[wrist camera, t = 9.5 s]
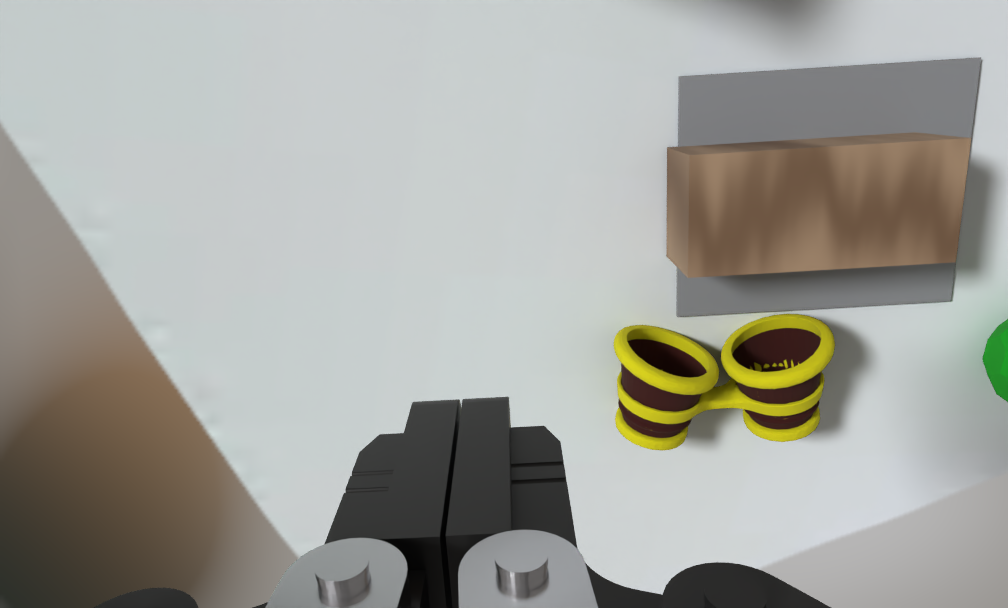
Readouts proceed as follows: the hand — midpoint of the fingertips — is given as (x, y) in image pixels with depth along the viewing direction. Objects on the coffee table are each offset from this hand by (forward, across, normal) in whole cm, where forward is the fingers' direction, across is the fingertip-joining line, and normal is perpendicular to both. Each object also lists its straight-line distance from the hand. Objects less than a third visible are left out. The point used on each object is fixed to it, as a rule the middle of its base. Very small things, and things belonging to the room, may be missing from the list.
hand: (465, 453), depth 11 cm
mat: (+23, -15, 0) cm, 27 cm away
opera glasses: (+23, -10, +9) cm, 27 cm away
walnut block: (+20, -8, 0) cm, 22 cm away
